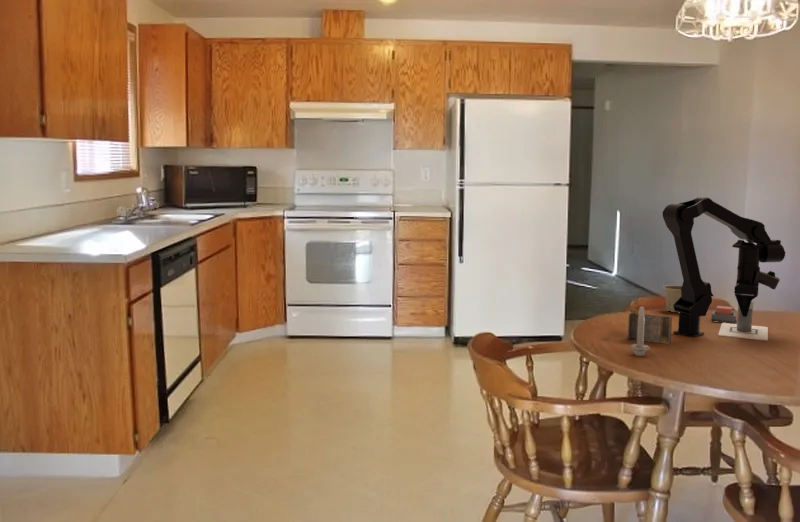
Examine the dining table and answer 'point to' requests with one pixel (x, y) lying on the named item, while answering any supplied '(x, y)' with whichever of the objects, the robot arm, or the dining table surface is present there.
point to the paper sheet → (755, 333)
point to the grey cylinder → (745, 320)
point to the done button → (724, 310)
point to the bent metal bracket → (651, 327)
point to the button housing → (724, 317)
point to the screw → (640, 335)
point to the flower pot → (672, 296)
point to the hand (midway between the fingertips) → (745, 313)
